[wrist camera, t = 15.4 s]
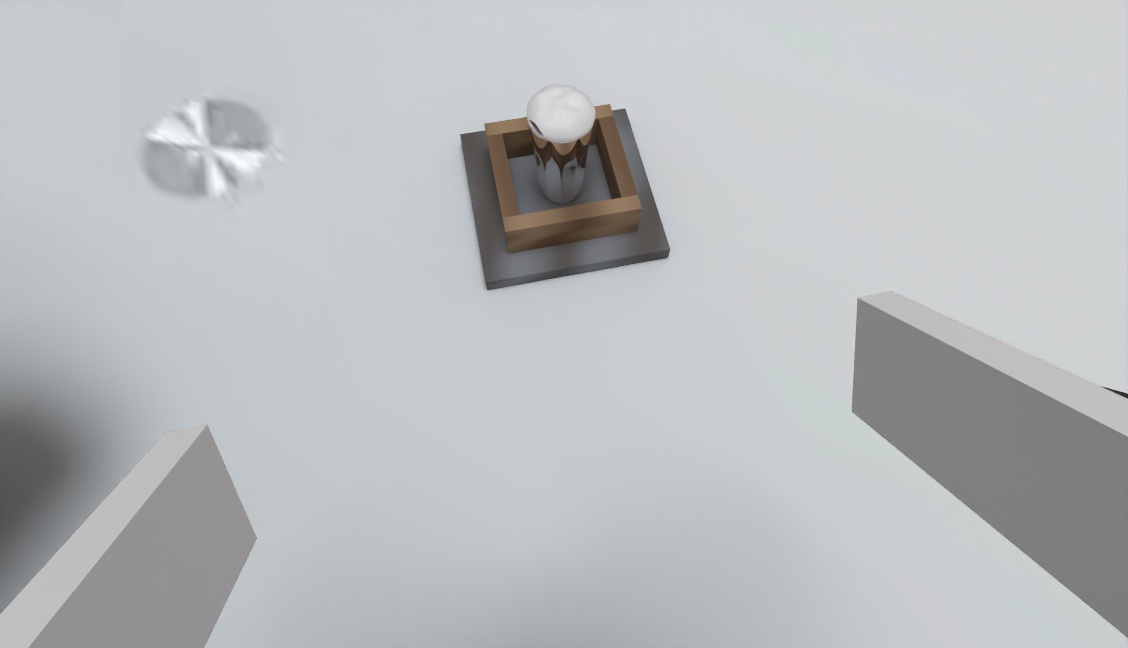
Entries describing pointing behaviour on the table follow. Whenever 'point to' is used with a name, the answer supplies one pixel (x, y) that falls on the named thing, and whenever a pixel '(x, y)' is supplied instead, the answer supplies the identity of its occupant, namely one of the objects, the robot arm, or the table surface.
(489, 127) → the socket board
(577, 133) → the milkshake
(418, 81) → the table surface
